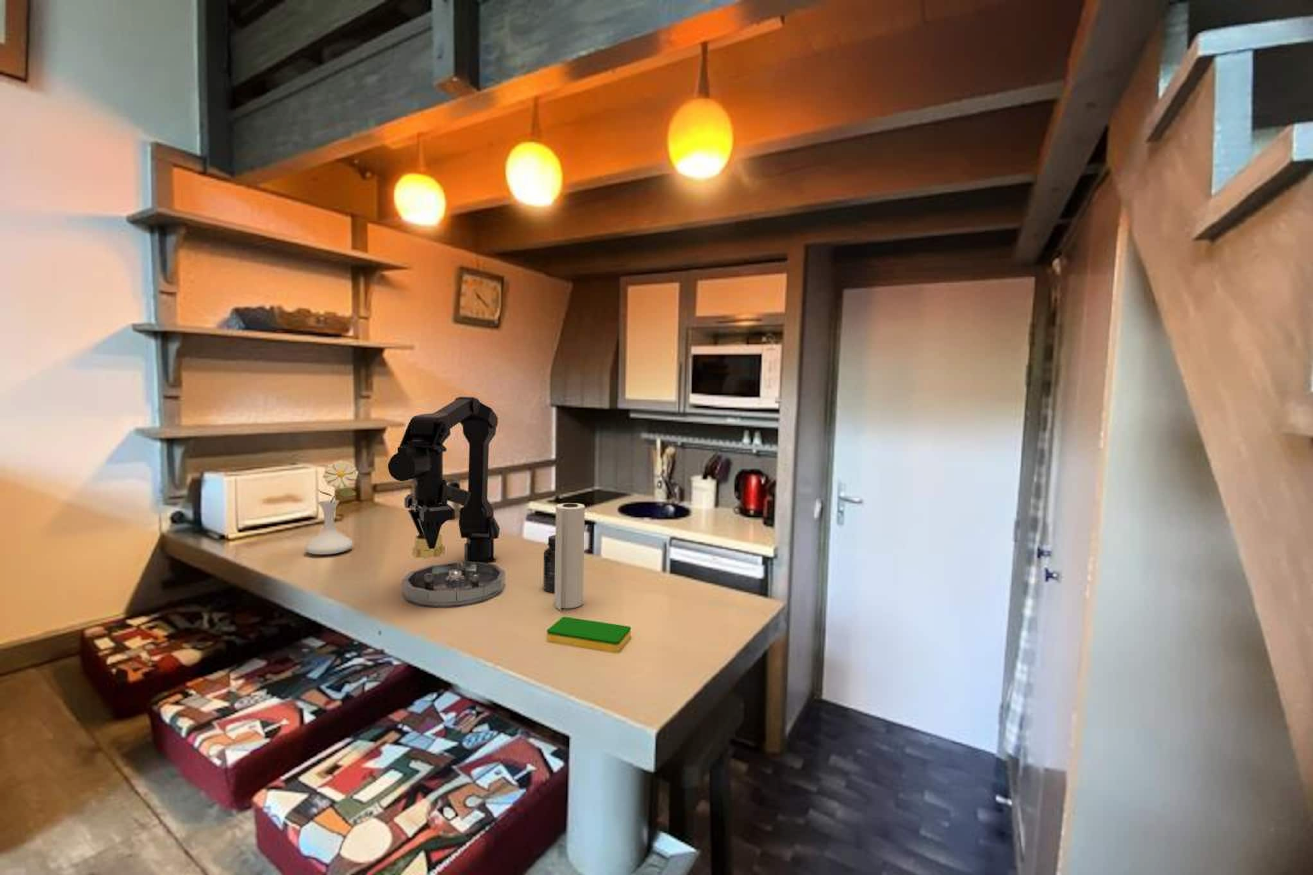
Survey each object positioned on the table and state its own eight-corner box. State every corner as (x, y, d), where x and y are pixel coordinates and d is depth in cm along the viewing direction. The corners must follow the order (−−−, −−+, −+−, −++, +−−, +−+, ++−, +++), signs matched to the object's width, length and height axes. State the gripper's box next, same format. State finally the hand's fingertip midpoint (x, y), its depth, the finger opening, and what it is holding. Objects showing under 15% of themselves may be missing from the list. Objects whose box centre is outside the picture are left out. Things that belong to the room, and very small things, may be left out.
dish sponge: (617, 655, 97) (618, 641, 97) (545, 643, 101) (545, 630, 101) (631, 638, 104) (631, 626, 104) (563, 628, 108) (563, 615, 108)
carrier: (485, 569, 140) (485, 552, 140) (517, 595, 123) (518, 575, 123) (394, 584, 128) (394, 565, 127) (416, 615, 111) (416, 593, 111)
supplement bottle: (579, 588, 129) (580, 537, 128) (555, 595, 124) (555, 542, 123) (561, 581, 133) (561, 531, 132) (537, 587, 128) (537, 536, 127)
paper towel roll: (571, 596, 123) (573, 501, 122) (588, 604, 119) (590, 505, 117) (543, 604, 118) (545, 504, 117) (560, 613, 114) (562, 509, 112)
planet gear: (409, 552, 122) (409, 534, 122) (439, 548, 126) (439, 531, 126) (416, 560, 117) (416, 541, 117) (447, 555, 121) (447, 537, 121)
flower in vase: (297, 558, 145) (295, 462, 143) (314, 546, 156) (313, 457, 154) (352, 557, 147) (351, 463, 145) (365, 545, 158) (364, 457, 156)
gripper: (480, 477, 117) (479, 550, 119) (454, 467, 133) (454, 531, 134) (424, 481, 111) (424, 558, 112) (403, 469, 126) (404, 537, 127)
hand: (428, 545), depth 122 cm, fingers closed on planet gear, 5 cm apart
